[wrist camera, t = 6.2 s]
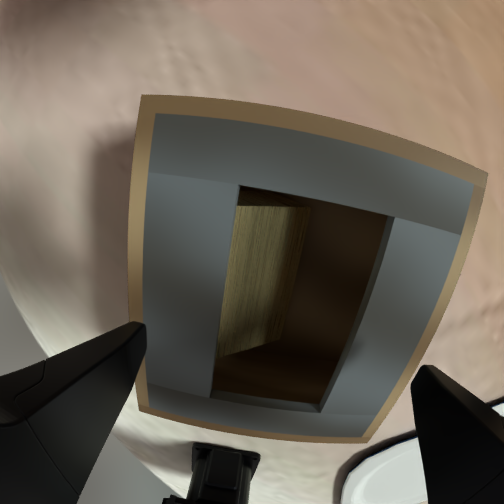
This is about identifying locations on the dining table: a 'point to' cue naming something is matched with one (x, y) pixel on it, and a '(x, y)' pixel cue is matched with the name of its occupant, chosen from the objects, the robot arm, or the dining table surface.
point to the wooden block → (260, 270)
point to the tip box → (309, 270)
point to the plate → (391, 475)
